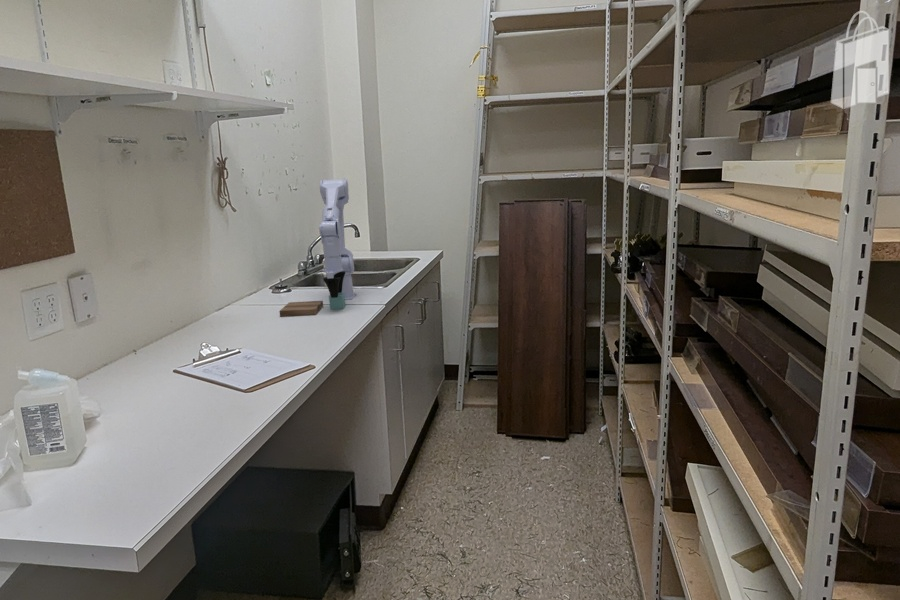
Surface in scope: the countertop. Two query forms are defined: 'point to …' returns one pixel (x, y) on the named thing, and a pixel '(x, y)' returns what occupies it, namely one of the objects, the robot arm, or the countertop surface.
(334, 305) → the teal block
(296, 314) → the walnut plinth
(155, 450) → the countertop surface
